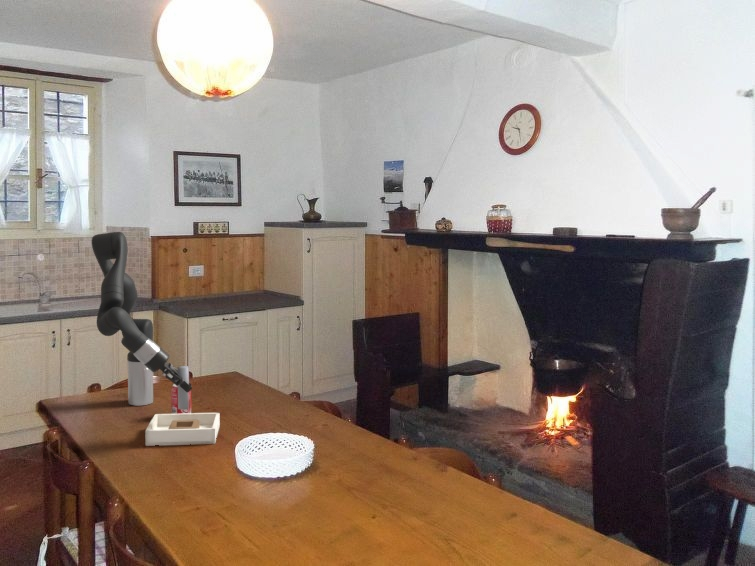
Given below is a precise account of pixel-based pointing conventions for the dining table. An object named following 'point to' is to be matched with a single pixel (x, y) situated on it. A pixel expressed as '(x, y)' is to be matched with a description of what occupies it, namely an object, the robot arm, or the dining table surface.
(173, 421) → the white rectangular tray
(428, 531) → the dining table surface
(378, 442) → the dining table surface
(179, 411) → the soda can
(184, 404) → the peg
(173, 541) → the dining table surface
